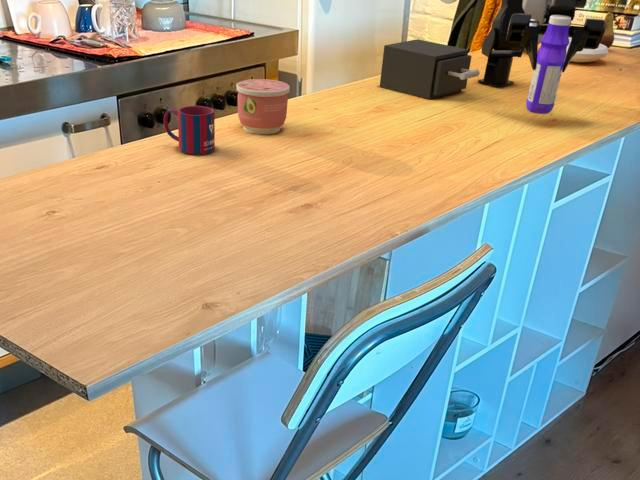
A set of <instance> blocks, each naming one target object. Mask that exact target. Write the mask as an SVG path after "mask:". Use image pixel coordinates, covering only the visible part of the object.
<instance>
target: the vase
mask: <svg viewBox="0 0 640 480" xmlns="http://www.w3.org/2000/svg"><path fill="white" fill-rule="evenodd" d="M571 39H572V38H569V45H570V42H571ZM569 45H568V46H567V47H566V54H567V51H568V48H569ZM609 52H610V51H609V48H607V46H605V45H603V44H599V47H598V48H597V49H583V50H582V51H580V52H579V51H578V52H576V54H575V55H574V56H573V58H572V59H571V60H570V62H571V63H592V62H597V61H600V60H601V59H603V58H605V57H607V55H608V53H609Z"/></svg>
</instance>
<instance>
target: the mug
mask: <svg viewBox="0 0 640 480" xmlns="http://www.w3.org/2000/svg"><path fill="white" fill-rule="evenodd" d="M170 113H172V114H174V115H175V116H177V128H178V129H177V131H178V132H177V133H178V135H175V133H173V132H172V131H171V129H170V127H169V123H168V121H169V119H168V118H169V114H170ZM215 115H216V113H215V109H214V108H212V107H209V106H204V105H186V106H182V107H180V108H178V109H174V108H173V109H172V108H171V109H168V110H166V111H165V113H164V116H163V126H164V129H165V130H164V131H165V132H166V133H167V135H168V136H169V137H170V138H172V140H174V141H176V142H178V150H179V152H181V153H183V154H186V155H193V156H202V155H208V154H211V153H213V152H214V151H215V146H216V144H215V143H216V141H215V136H216V135H215V134H216V133H215V127H216V126H215V124H216V123H215V121H216V120H215V117H216V116H215Z"/></svg>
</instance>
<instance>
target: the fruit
mask: <svg viewBox="0 0 640 480" xmlns="http://www.w3.org/2000/svg"><path fill="white" fill-rule="evenodd" d="M616 6H617V3H615V4H614V5H613V7H612V9H611V10H610V11H608V12H607V13H606V14H605V17H604V18H603V20H604V21H605V23H606V28H605V32H604V35H603V37H602V40H601V42H600V44H603V45H605V46H607V48H608V49H609V48H611V47H612V46H613V43H614V42H615V32H614V13H613V10H614V8H615V7H616Z"/></svg>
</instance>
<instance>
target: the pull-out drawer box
mask: <svg viewBox="0 0 640 480" xmlns="http://www.w3.org/2000/svg"><path fill="white" fill-rule="evenodd" d="M471 61H472V55H470V54H468V55H465V56H456V57H451V58H446V59H441V60H437V65H436V72H435V78H434V85H433V95H436V96H438V95H442V94H446V93H450V92H454V91H458V90H461V91H462V90H465V89H467V85H468V79H472V78H476V77H479V76H480V70H479V69H474V70H473V69H470V68H471V63H472V62H471Z"/></svg>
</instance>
